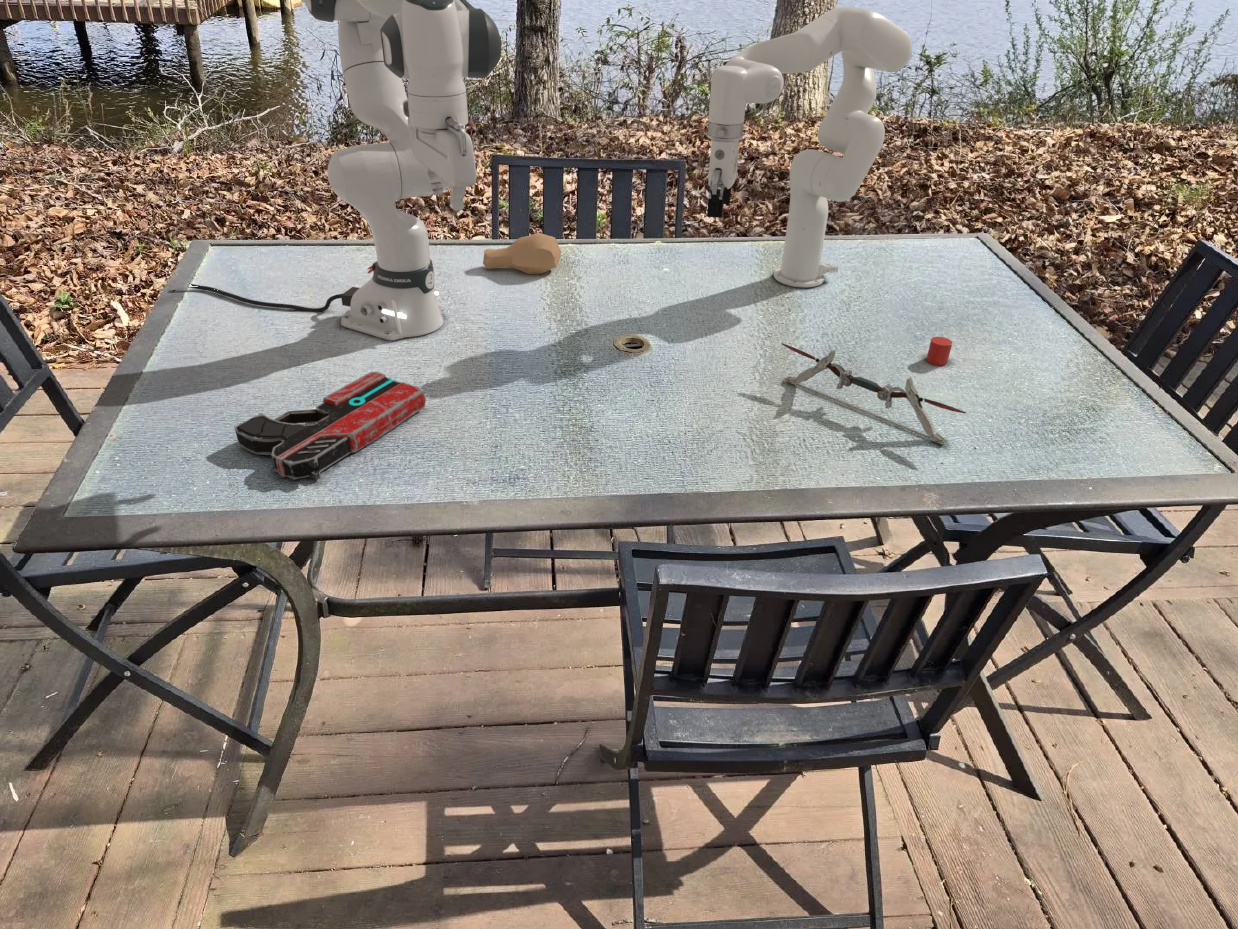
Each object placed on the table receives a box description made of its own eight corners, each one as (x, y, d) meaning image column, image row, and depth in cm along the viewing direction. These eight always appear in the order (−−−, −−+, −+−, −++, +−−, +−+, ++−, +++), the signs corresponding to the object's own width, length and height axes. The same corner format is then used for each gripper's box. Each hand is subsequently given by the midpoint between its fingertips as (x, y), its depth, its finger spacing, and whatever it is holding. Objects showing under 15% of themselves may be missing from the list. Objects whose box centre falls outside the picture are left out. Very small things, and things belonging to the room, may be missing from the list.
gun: (219, 431, 148) (300, 468, 140) (353, 358, 170) (430, 387, 162) (225, 453, 150) (305, 490, 143) (356, 378, 172) (432, 408, 164)
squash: (562, 278, 220) (556, 246, 214) (484, 285, 222) (476, 253, 216) (564, 255, 228) (559, 224, 222) (489, 262, 230) (481, 231, 223)
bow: (958, 447, 158) (972, 398, 152) (954, 450, 157) (967, 402, 151) (779, 375, 179) (785, 330, 174) (774, 378, 178) (780, 333, 172)
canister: (928, 364, 185) (933, 344, 183) (924, 355, 189) (929, 335, 186) (949, 366, 185) (954, 346, 182) (945, 356, 188) (950, 337, 186)
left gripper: (483, 123, 129) (489, 216, 136) (436, 98, 144) (443, 183, 151) (442, 127, 126) (450, 222, 134) (398, 101, 141) (408, 188, 149)
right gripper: (736, 141, 178) (728, 224, 188) (749, 122, 192) (741, 200, 202) (699, 137, 180) (694, 220, 189) (715, 119, 194) (709, 197, 203)
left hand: (446, 201), depth 143 cm, fingers open, 8 cm apart
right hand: (718, 209), depth 195 cm, fingers open, 9 cm apart
